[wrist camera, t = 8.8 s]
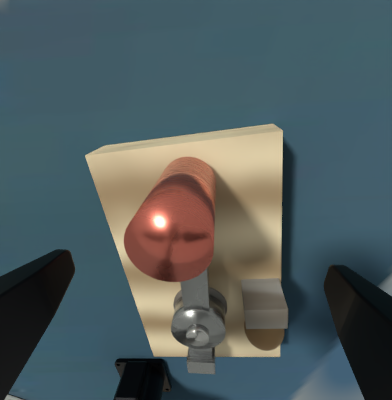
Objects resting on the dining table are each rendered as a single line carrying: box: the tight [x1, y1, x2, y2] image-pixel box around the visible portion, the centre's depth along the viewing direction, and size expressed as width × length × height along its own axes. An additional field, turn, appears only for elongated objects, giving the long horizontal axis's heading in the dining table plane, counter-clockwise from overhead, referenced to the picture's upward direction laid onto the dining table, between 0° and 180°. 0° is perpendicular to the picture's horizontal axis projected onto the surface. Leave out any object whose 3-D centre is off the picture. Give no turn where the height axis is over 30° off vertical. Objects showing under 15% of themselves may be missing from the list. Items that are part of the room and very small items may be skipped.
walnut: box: [244, 322, 284, 351], centre depth 20 cm, size 3×3×3 cm
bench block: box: [85, 124, 288, 357], centre depth 20 cm, size 22×13×6 cm, turn 8°
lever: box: [124, 157, 226, 374], centre depth 16 cm, size 19×4×7 cm, turn 4°
